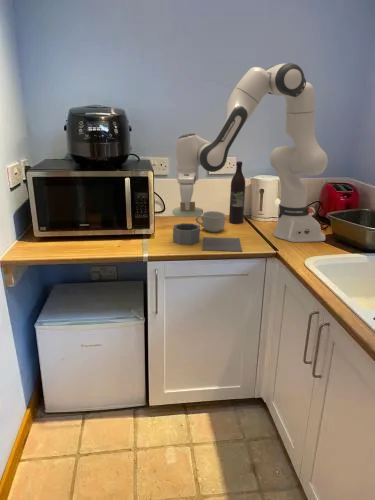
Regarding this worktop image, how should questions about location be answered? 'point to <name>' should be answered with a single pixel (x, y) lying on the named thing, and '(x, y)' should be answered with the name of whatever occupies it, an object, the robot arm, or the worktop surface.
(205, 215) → the teacup
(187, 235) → the octagonal grey bowl
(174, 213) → the lid
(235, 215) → the wine bottle
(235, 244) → the mat
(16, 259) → the worktop surface
